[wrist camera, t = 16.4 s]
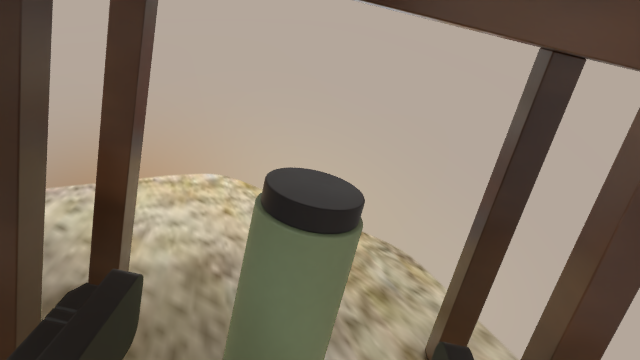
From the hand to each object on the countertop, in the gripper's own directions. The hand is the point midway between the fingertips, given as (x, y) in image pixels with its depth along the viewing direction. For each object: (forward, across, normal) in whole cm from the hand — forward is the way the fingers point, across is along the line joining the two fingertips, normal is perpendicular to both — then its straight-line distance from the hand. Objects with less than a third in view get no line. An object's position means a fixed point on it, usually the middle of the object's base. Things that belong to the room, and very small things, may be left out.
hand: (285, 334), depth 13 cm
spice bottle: (+7, 0, +8) cm, 11 cm away
